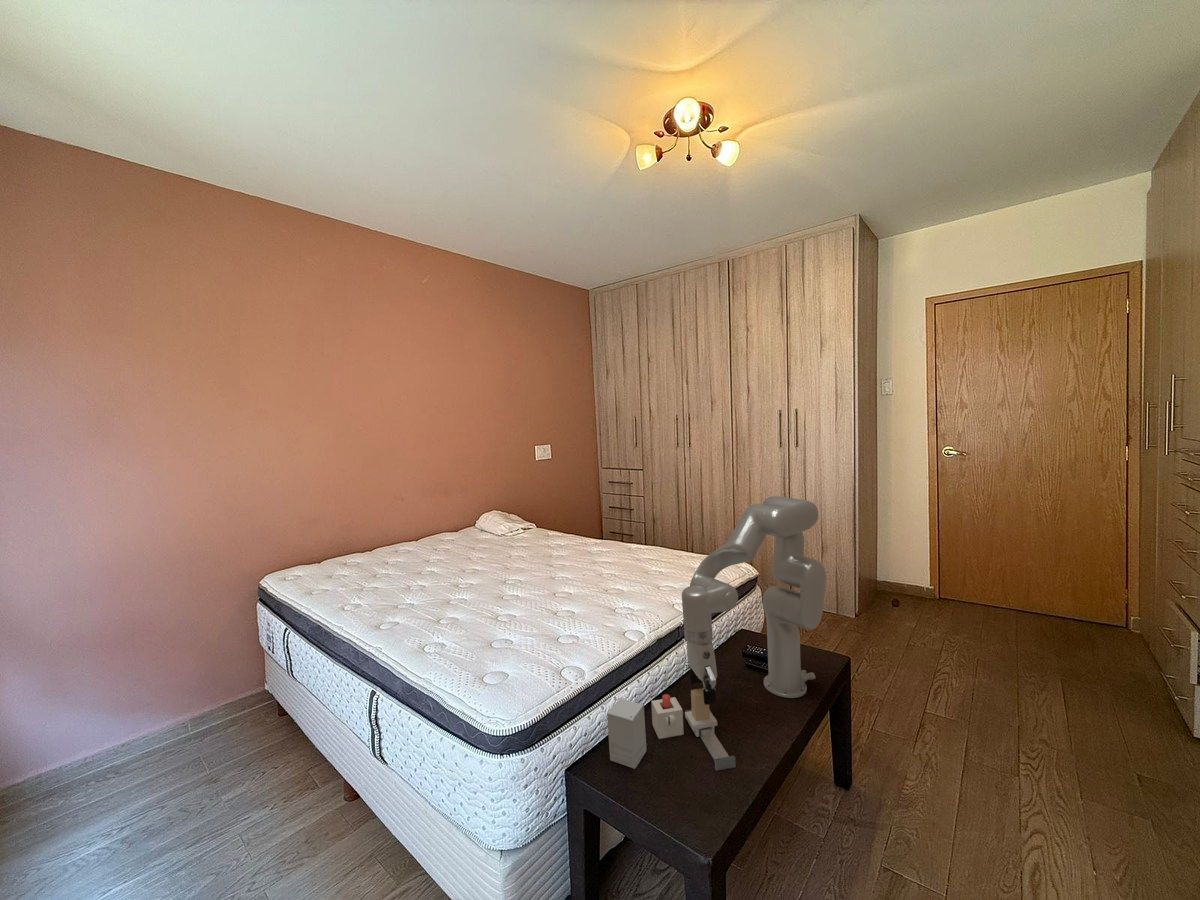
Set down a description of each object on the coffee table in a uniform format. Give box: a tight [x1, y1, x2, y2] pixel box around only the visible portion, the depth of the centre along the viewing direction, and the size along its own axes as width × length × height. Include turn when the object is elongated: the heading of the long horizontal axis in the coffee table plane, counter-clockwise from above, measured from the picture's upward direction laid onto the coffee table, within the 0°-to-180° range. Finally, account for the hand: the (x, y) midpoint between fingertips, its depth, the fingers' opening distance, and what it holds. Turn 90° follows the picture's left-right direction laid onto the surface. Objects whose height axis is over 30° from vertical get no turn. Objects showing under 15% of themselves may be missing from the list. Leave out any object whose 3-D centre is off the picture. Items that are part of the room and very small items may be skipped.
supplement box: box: [606, 697, 647, 770], centre depth 117 cm, size 7×7×13 cm
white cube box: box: [650, 696, 685, 740], centre depth 126 cm, size 7×7×7 cm
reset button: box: [661, 693, 671, 710], centre depth 127 cm, size 2×2×5 cm
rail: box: [684, 708, 737, 772], centre depth 122 cm, size 5×21×2 cm, turn 10°
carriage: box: [684, 687, 718, 738], centre depth 126 cm, size 7×6×10 cm
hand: (702, 692), depth 126 cm, fingers open, 9 cm apart
